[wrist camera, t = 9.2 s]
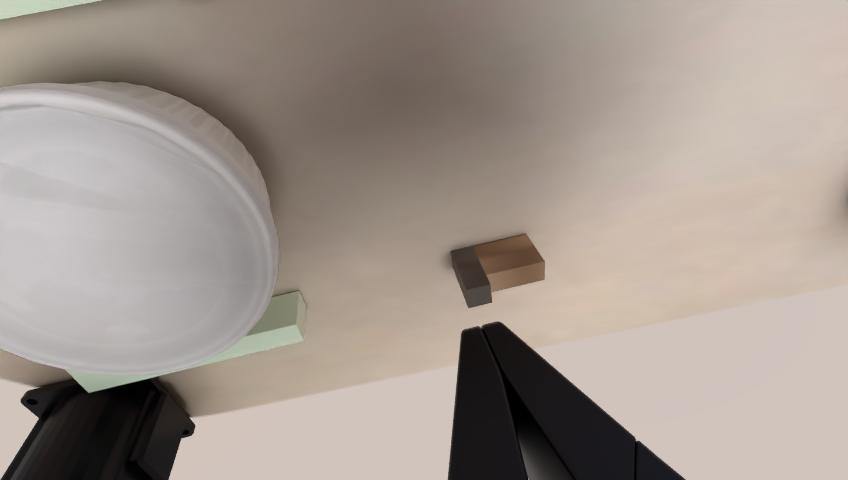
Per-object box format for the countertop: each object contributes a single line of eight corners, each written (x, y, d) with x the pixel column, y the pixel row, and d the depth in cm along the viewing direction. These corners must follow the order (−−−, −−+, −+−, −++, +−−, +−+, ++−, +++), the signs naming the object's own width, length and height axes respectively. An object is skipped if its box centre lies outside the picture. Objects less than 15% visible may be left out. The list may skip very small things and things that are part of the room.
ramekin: (221, 19, 15) (178, 45, 11) (323, 258, 22) (321, 333, 17) (-92, 96, 15) (-262, 154, 11) (106, 315, 21) (50, 407, 17)
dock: (110, 353, 23) (88, 392, 21) (-196, 7, 13) (-293, 17, 11) (306, 306, 23) (303, 341, 21) (148, -56, 14) (117, -57, 12)
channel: (314, 301, 23) (311, 346, 20) (168, -49, 14) (130, -50, 11) (526, 251, 24) (550, 288, 21) (520, -114, 15) (561, -128, 12)
